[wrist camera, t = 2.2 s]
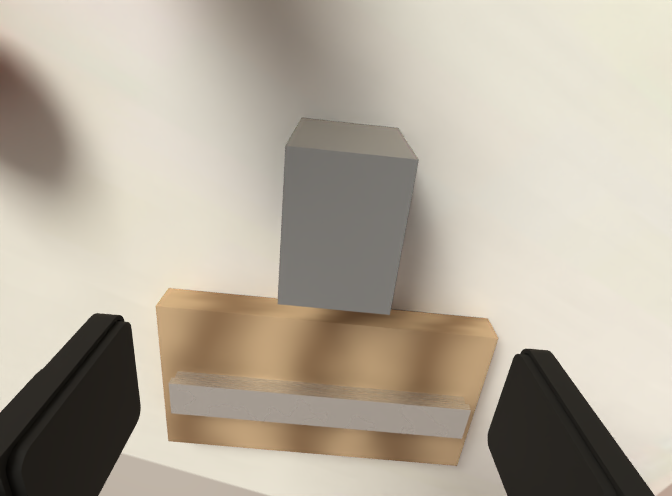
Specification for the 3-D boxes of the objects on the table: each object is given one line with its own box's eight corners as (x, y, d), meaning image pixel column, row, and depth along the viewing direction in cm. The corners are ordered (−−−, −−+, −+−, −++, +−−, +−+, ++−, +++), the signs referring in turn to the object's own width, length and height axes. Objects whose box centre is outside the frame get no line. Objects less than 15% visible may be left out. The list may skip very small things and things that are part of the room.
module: (398, 128, 22) (418, 159, 16) (377, 258, 25) (387, 326, 19) (301, 117, 22) (285, 145, 16) (293, 250, 25) (277, 315, 19)
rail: (464, 391, 27) (471, 410, 26) (456, 419, 28) (461, 438, 27) (177, 366, 27) (168, 383, 25) (179, 395, 28) (171, 413, 26)
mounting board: (487, 318, 27) (498, 338, 25) (450, 441, 32) (456, 465, 30) (168, 288, 26) (155, 305, 25) (178, 418, 31) (168, 441, 29)
